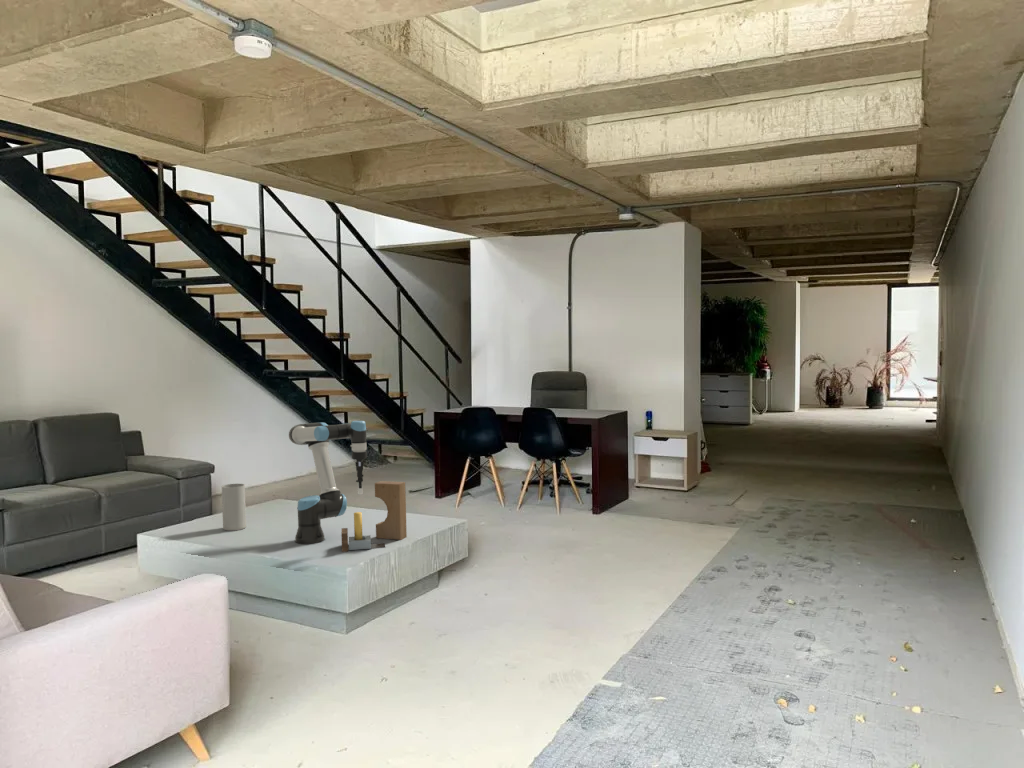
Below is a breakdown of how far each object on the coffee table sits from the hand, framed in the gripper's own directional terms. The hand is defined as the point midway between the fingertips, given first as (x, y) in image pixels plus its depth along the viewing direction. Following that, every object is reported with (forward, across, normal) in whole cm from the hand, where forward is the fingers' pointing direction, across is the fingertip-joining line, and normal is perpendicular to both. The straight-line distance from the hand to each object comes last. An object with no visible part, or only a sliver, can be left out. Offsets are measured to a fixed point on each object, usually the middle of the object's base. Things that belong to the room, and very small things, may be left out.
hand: (360, 492), depth 393 cm
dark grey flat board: (+29, 0, +2) cm, 29 cm away
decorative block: (+29, -16, +16) cm, 37 cm away
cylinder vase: (+29, -63, -71) cm, 99 cm away
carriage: (+29, 0, -1) cm, 29 cm away
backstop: (+29, 0, -8) cm, 30 cm away
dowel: (+27, 0, -2) cm, 27 cm away
